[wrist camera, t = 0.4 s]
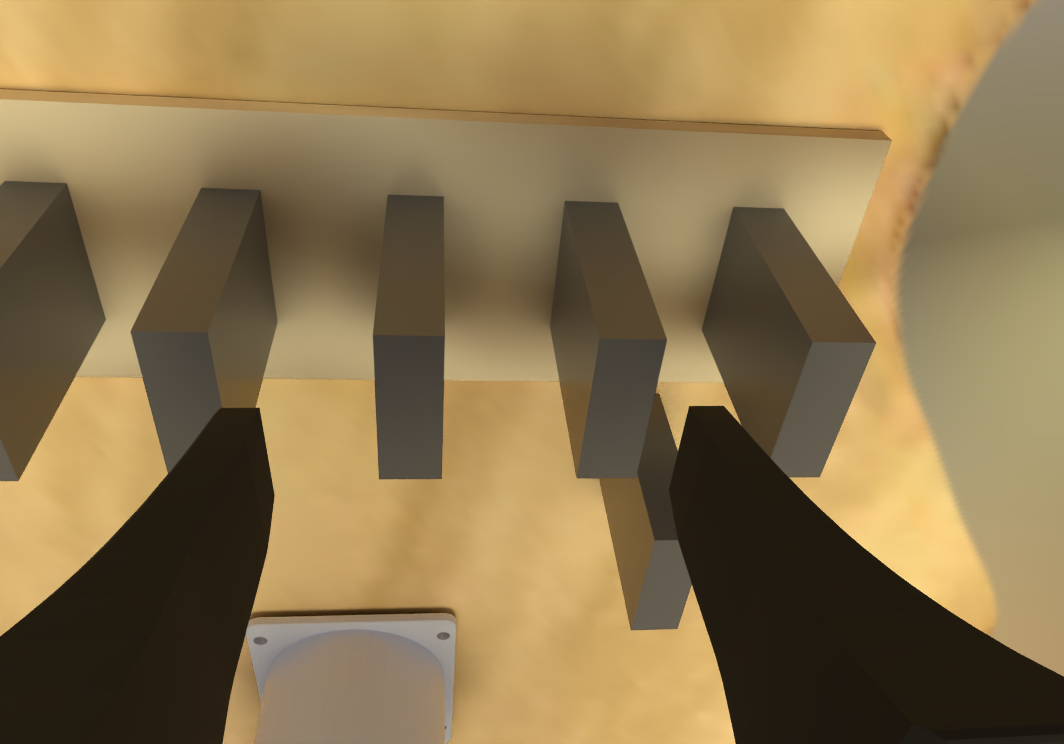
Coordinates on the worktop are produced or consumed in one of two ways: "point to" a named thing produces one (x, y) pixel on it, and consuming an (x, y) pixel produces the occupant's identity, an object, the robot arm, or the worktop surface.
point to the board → (426, 170)
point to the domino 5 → (648, 532)
